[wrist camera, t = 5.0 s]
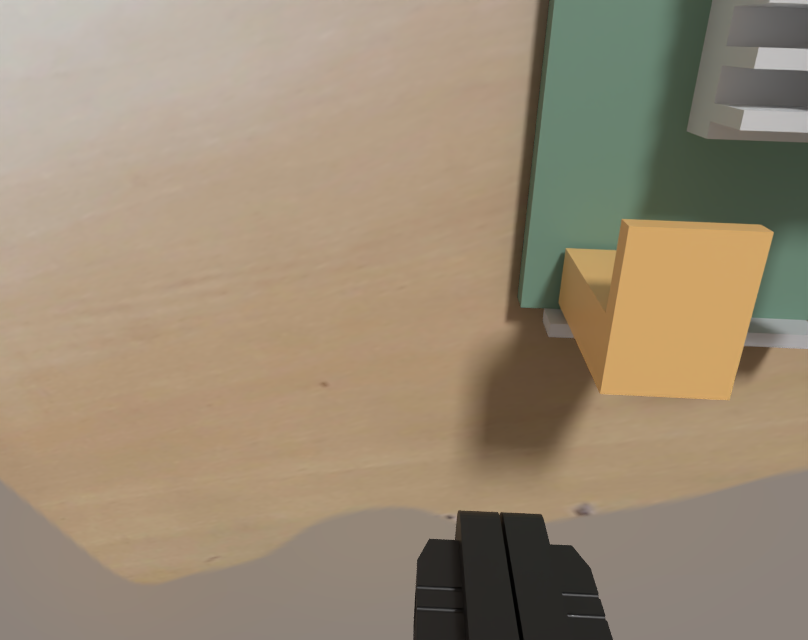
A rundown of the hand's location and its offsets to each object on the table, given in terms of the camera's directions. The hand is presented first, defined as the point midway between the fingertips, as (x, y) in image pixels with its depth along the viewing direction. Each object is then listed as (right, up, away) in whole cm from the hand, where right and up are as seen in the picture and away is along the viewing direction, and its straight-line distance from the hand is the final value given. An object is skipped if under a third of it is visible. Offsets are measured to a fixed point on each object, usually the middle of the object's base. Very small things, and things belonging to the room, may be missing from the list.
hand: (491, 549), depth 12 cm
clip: (+7, +7, +14) cm, 17 cm away
